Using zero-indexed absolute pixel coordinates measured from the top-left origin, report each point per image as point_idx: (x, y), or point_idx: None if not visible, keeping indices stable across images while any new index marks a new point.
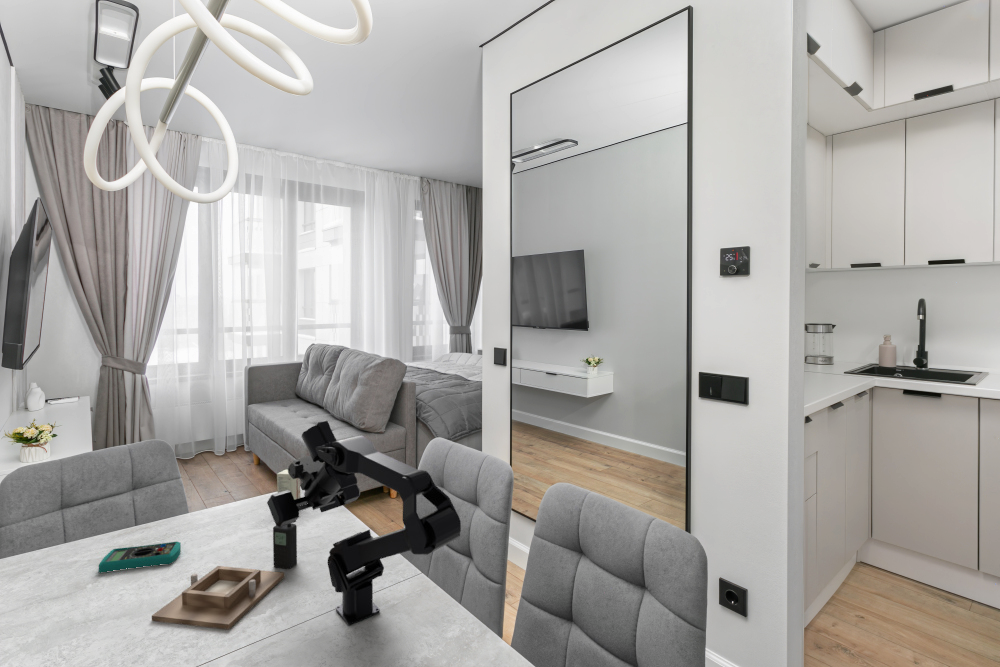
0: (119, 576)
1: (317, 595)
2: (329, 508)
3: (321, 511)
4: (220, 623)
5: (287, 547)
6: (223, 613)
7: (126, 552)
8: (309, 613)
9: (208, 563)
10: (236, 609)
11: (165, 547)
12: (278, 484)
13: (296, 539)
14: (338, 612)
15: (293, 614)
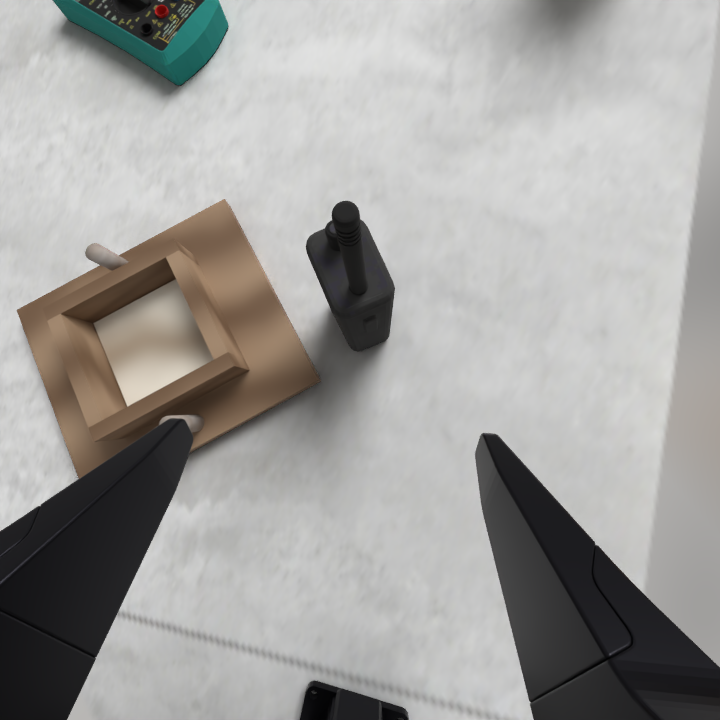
0: (85, 63)
1: (324, 556)
2: (506, 588)
3: (476, 459)
4: None
5: (343, 332)
6: (107, 444)
7: None
8: (257, 620)
9: (235, 149)
10: None
11: (177, 7)
12: None
13: (387, 319)
14: (302, 709)
15: (229, 583)
